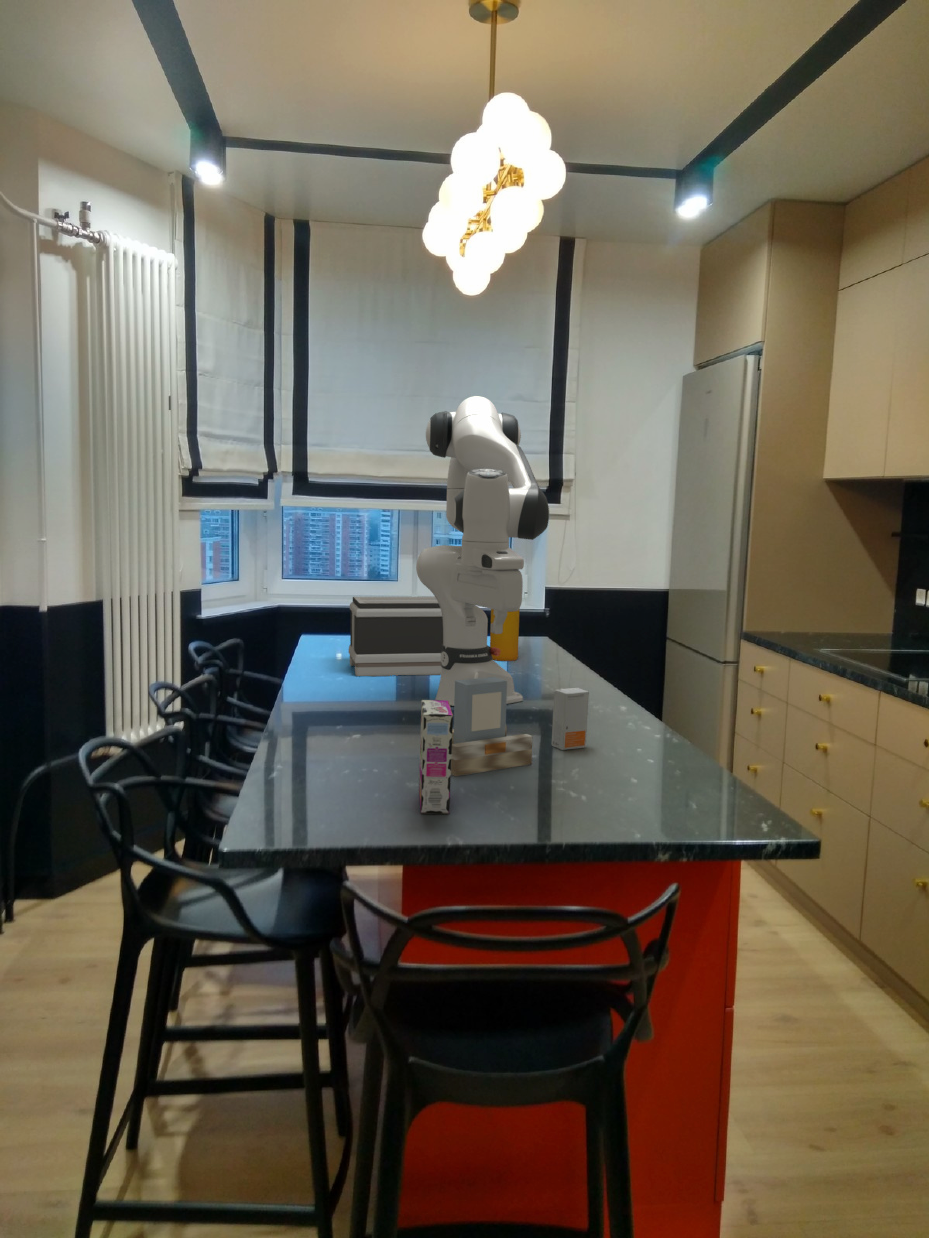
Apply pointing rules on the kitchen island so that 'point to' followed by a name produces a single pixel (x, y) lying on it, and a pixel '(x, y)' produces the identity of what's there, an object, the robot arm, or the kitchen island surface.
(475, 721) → the box
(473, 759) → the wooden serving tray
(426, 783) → the candy bar box
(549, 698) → the kitchen island surface
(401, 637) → the toaster
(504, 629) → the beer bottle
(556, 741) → the skincare box
